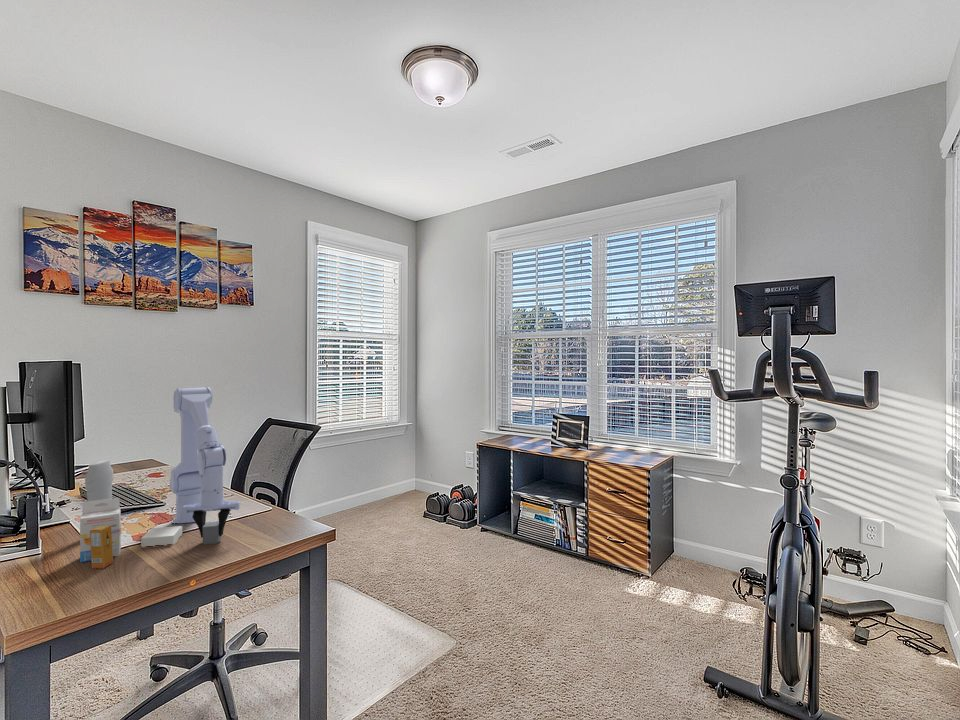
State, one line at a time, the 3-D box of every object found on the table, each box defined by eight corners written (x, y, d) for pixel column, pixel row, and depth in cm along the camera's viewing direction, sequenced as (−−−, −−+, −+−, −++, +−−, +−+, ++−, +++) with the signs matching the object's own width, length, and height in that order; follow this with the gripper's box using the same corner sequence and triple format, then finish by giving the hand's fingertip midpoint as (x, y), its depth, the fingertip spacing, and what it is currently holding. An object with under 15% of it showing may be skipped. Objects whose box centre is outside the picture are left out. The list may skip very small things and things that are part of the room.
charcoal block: (206, 539, 144) (206, 522, 144) (221, 537, 145) (221, 521, 145) (202, 544, 140) (202, 527, 140) (218, 543, 141) (218, 525, 141)
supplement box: (100, 563, 128) (100, 524, 127) (113, 563, 127) (113, 525, 127) (89, 568, 124) (89, 529, 124) (103, 569, 124) (102, 529, 124)
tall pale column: (93, 540, 143) (92, 464, 142) (79, 540, 143) (78, 464, 142) (119, 527, 153) (119, 457, 153) (106, 527, 153) (105, 456, 153)
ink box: (79, 563, 127) (78, 507, 127) (82, 556, 132) (81, 501, 131) (120, 556, 132) (119, 501, 132) (121, 549, 136) (120, 496, 136)
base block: (151, 538, 146) (151, 528, 145) (182, 535, 148) (182, 525, 148) (141, 548, 138) (141, 538, 138) (173, 546, 140) (173, 535, 140)
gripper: (179, 494, 136) (179, 543, 137) (236, 491, 140) (236, 538, 141) (187, 487, 143) (187, 534, 144) (241, 484, 147) (241, 529, 147)
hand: (212, 535), depth 143 cm, fingers closed on charcoal block, 4 cm apart
